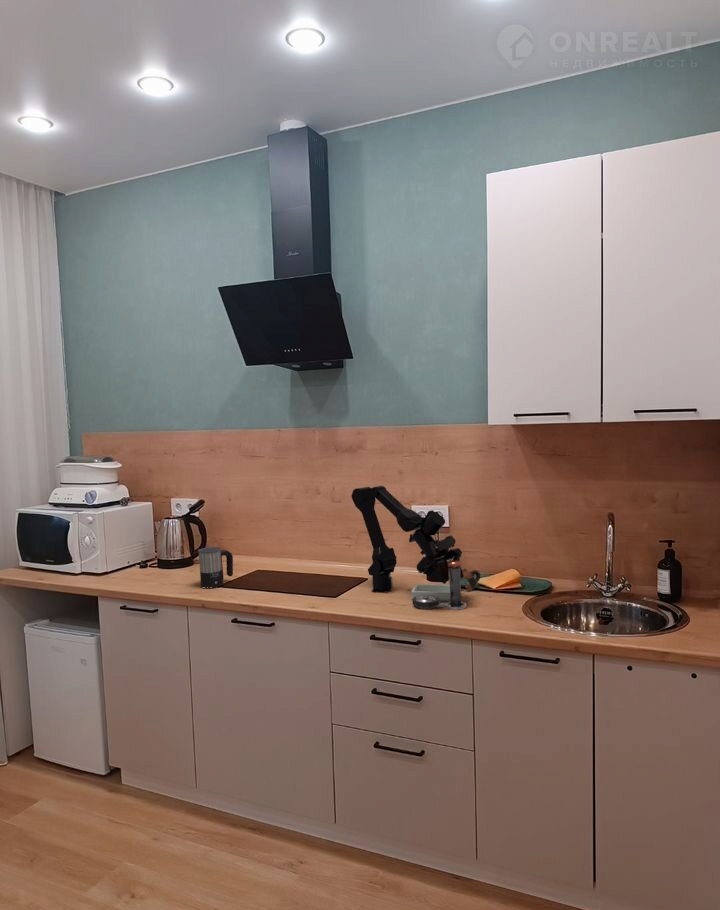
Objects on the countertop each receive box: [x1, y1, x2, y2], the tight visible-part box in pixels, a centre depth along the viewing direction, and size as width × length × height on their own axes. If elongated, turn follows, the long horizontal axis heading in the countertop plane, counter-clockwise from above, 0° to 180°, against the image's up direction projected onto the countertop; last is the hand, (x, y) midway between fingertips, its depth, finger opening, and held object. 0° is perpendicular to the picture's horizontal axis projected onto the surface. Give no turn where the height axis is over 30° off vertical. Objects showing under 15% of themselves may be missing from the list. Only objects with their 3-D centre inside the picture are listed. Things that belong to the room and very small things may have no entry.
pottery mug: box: [448, 568, 481, 592], centre depth 245 cm, size 12×10×8 cm
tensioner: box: [411, 595, 467, 611], centre depth 223 cm, size 18×9×3 cm, turn 76°
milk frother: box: [197, 546, 234, 589], centre depth 267 cm, size 14×16×15 cm
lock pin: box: [447, 560, 462, 607], centre depth 222 cm, size 4×4×15 cm
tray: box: [410, 583, 450, 602], centre depth 235 cm, size 16×10×3 cm, turn 76°
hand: (454, 580), depth 222 cm, fingers open, 9 cm apart
